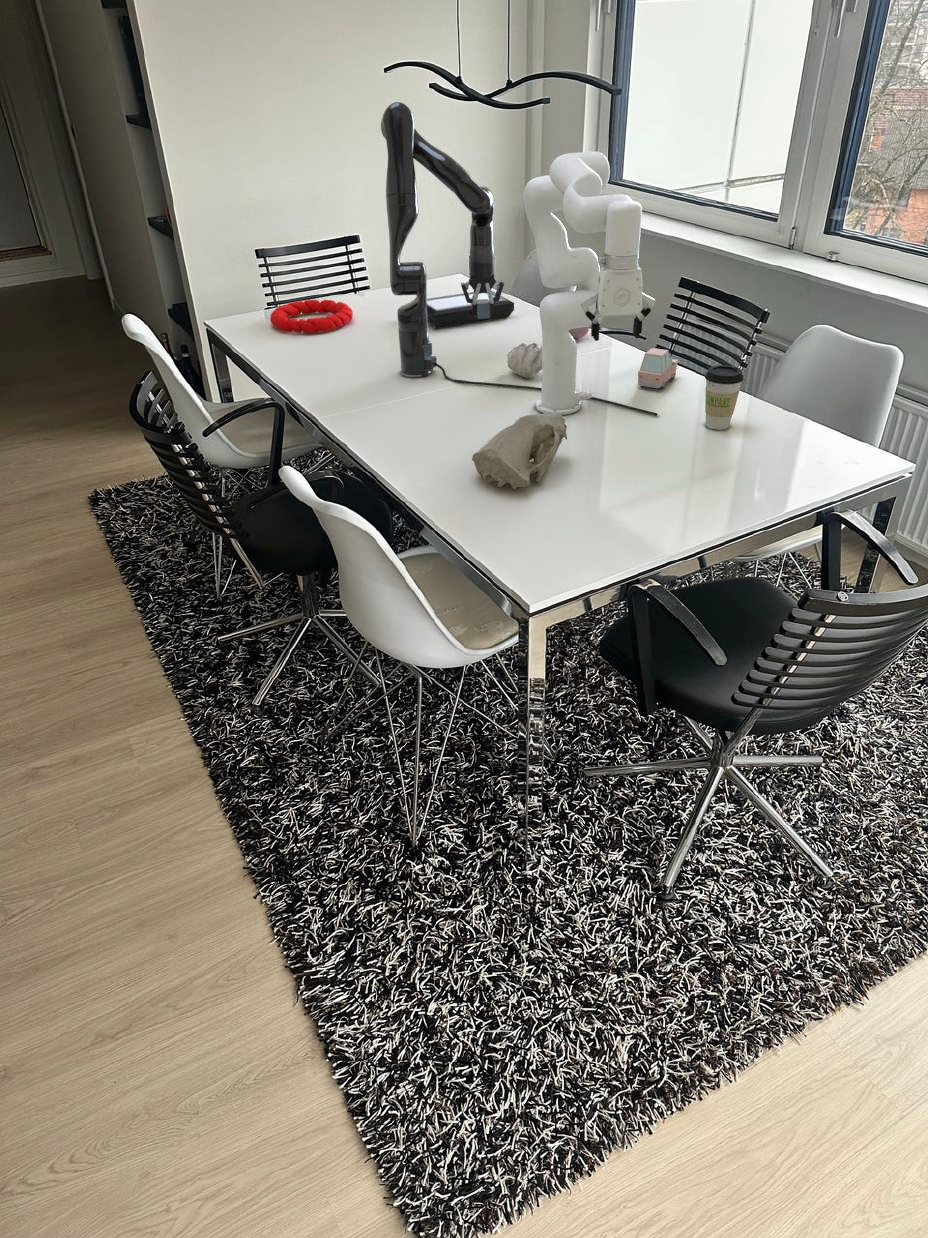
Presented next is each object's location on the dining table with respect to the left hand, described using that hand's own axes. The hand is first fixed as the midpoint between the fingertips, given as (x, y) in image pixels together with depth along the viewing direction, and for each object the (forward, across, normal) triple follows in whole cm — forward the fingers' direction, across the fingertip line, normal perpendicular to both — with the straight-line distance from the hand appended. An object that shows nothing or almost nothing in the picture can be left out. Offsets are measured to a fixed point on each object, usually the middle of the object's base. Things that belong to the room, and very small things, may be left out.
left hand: (482, 314), depth 284 cm
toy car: (+13, +48, -34) cm, 61 cm away
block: (0, 0, 0) cm, 0 cm away
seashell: (+13, +11, -21) cm, 27 cm away
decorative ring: (+14, -57, +50) cm, 78 cm away
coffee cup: (+13, +55, -69) cm, 89 cm away
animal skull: (+13, 0, -89) cm, 89 cm away
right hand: (-17, +22, -82) cm, 86 cm away
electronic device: (+14, -2, +46) cm, 48 cm away
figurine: (+14, +33, +14) cm, 39 cm away
